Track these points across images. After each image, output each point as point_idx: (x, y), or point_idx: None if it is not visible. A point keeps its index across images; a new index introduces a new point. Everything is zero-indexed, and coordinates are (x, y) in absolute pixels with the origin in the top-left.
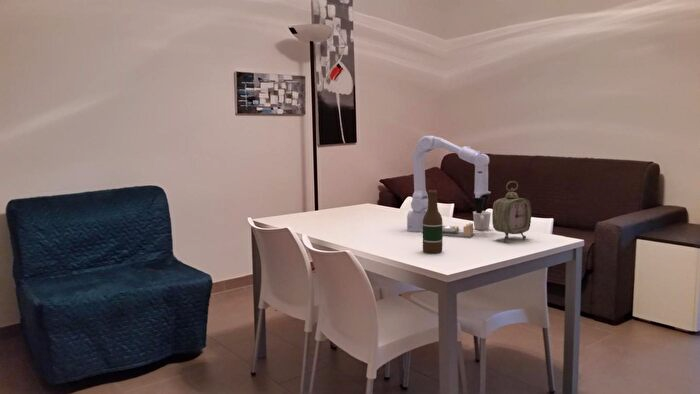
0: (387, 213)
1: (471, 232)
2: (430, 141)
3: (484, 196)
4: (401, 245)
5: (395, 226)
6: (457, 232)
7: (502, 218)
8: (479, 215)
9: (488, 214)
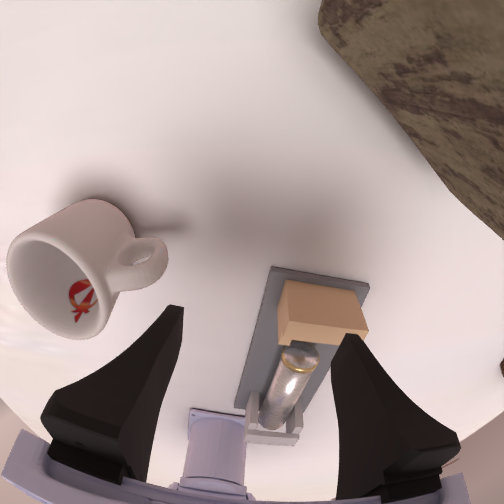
0: (42, 436)
1: (320, 292)
2: None
3: (133, 451)
4: (438, 420)
5: (180, 456)
6: (308, 347)
7: None
8: (111, 301)
9: (71, 243)
